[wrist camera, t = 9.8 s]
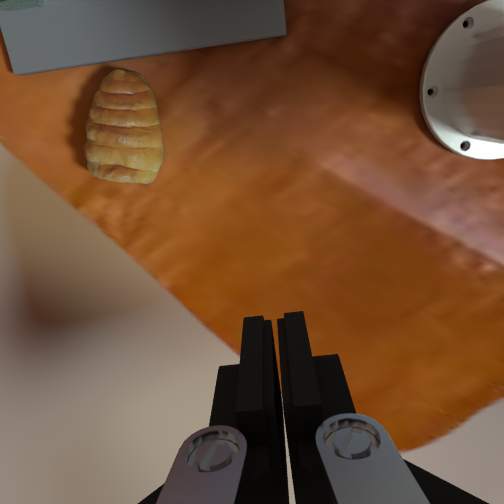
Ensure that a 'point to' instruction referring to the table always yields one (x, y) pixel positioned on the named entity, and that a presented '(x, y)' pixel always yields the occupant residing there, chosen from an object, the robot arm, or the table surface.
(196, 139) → the table surface
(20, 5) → the stand
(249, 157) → the table surface
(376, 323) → the table surface
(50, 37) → the slate mat
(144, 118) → the pastry
